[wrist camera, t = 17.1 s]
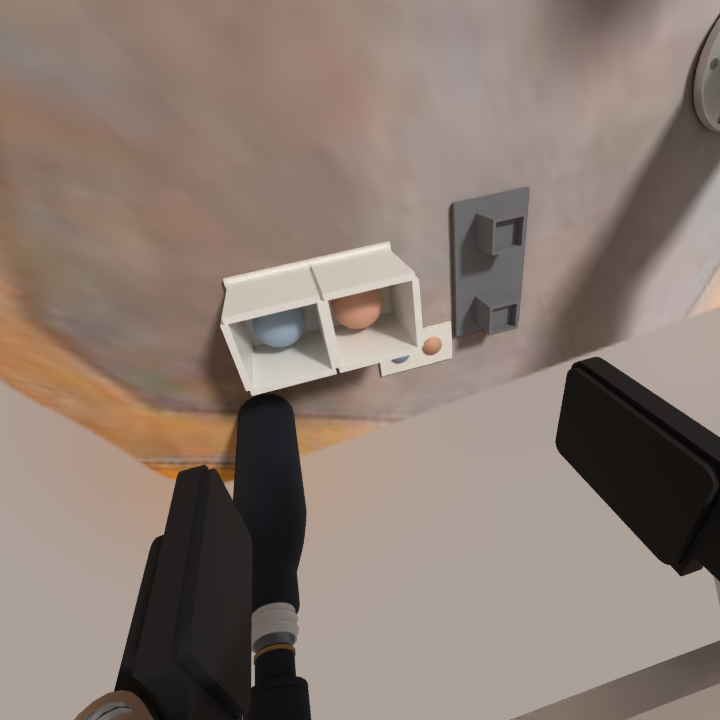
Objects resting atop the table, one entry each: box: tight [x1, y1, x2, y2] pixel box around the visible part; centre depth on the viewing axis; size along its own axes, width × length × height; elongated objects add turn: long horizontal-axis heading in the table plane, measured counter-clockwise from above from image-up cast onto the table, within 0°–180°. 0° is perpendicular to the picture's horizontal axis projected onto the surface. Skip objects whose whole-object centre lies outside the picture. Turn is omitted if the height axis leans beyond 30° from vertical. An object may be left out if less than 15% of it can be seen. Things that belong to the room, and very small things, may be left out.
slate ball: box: [252, 307, 306, 347], centre depth 37 cm, size 5×5×5 cm
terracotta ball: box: [331, 289, 383, 329], centre depth 38 cm, size 5×5×5 cm
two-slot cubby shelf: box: [220, 241, 424, 396], centre depth 36 cm, size 16×8×9 cm, turn 99°
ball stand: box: [452, 187, 530, 337], centre depth 41 cm, size 8×15×4 cm, turn 9°
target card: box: [380, 321, 452, 376], centre depth 45 cm, size 9×5×1 cm, turn 99°
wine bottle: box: [233, 395, 311, 720], centre depth 33 cm, size 6×6×30 cm
